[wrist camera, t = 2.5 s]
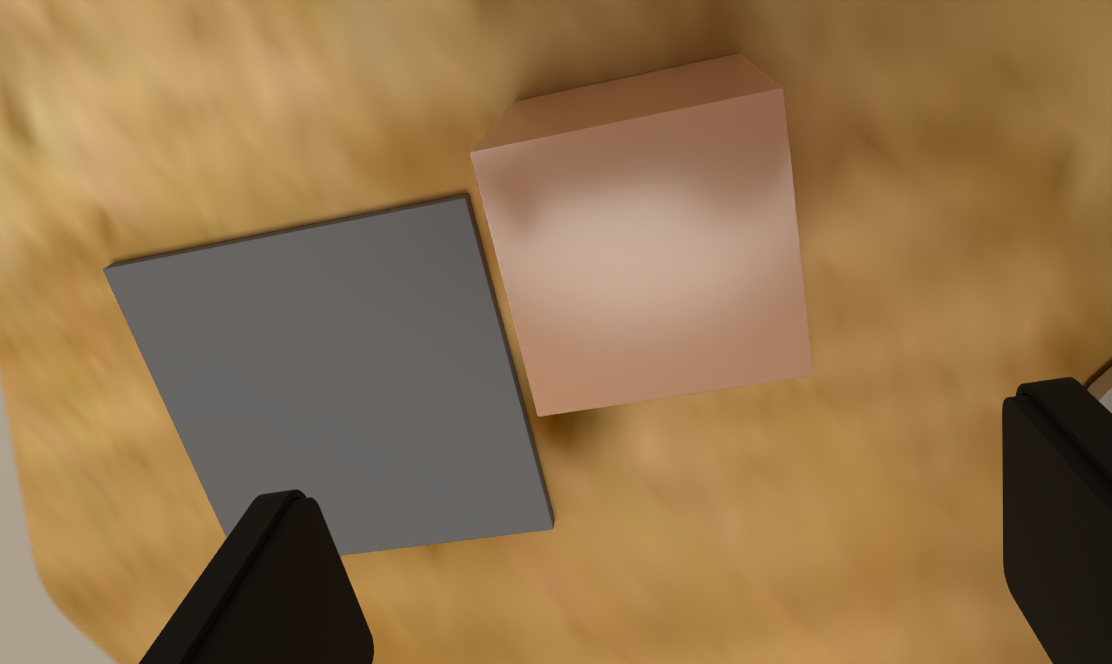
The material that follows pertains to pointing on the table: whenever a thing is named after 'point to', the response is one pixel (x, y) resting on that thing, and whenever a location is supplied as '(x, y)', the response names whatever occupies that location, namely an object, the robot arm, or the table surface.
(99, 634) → the table surface
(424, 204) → the charcoal mat
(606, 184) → the brown cube
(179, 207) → the table surface
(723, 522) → the table surface
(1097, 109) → the table surface
